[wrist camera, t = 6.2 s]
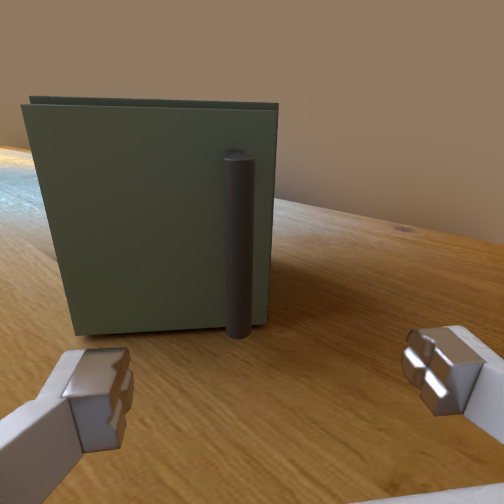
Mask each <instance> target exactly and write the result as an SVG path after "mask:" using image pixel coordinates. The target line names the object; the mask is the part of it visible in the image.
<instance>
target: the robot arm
mask: <svg viewBox="0 0 504 504" xmlns="http://www.w3.org/2000/svg"><path fill="white" fill-rule="evenodd" d="M406 341H407V343H408V344H409V347H408V348H407V349H406V350H405V351H404V352H403V354H402V359H401V365H402V371H403V373H404V375H405V378H406V379H407V380H408V382H409V383H410V384H411V385H412V386H414V387H416V388H417V389H419V390H420V398H421V399H422V401H423V402H424V403H425V405H426V406H427V407H428V409H429V410H430V411H431V413H432V414H433V415H434V416H447V415H461V414H463V416H464V417H465V418H467V419H468V420H469V421H471V422H472V423H474V424H475V425H476V426H478V427H479V428H481V429H482V430H483V431H485V432H486V433H488V434H489V435H491V436H492V437H493V438H495V439H496V440H498V441H499V442H500V443H502V444H503V445H504V360H503V359H502V358H501V357H500V356H498V355H497V354H496V353H495V352H494V351H492V350H491V349H490V348H489V347H488V346H486V345H485V344H484V343H483V342H482V341H480V340H479V339H478V338H477V337H476V336H474V335H473V334H472V333H471V332H470V331H468V330H467V329H466V328H465V327H462V326H460V325H456V326H444V327H437V328H422V329H411V331H410V332H409V333H408V336H407V339H406ZM129 362H130V355H129V350H128V349H127V348H126V347H124V348H100V349H87V350H86V349H82V350H67V351H66V352H64V353H63V354H62V356H61V357H60V359H59V361H58V362H57V364H56V366H55V368H54V369H53V371H52V373H51V374H50V376H49V378H48V379H47V381H46V383H45V384H44V386H43V388H42V389H41V391H40V393H39V395H38V396H37V398H36V400H32V401H27V402H26V403H25V404H23V405H22V406H20V407H19V408H18V409H16V410H15V411H13V412H12V413H10V414H9V415H8V416H6V417H5V418H3V419H2V420H0V504H42V503H43V502H44V501H45V500H46V498H47V497H48V496H49V495H50V494H51V493H52V491H53V490H54V489H55V488H56V487H57V486H58V484H59V483H60V482H61V481H62V480H63V479H64V478H65V476H66V475H67V474H68V473H69V472H70V471H71V469H72V468H73V467H74V466H75V465H76V464H77V462H78V461H79V460H80V459H81V458H82V457H83V454H84V453H92V452H99V451H107V450H114V449H120V448H121V444H122V440H123V436H124V432H125V429H126V425H127V424H126V418H125V414H126V413H127V412H128V411H129V410H130V409H131V404H132V400H133V391H134V379H133V372H132V371H131V370H129V369H128V366H129ZM349 504H504V482H503V483H495V484H488V485H481V486H473V487H466V488H459V489H452V490H444V491H437V492H430V493H422V494H415V495H408V496H401V497H393V498H386V499H379V500H371V501H364V502H357V503H349Z"/></svg>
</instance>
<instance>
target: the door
mask: <svg viewBox="0 0 504 504" xmlns="http://www.w3.org/2000/svg"><path fill="white" fill-rule="evenodd" d="M20 106H21V110H22V114H23V118H24V123H25V127H26V131H27V135H28V139H29V144H30V148H31V152H32V156H33V160H34V164H35V169H36V173H37V177H38V181H39V185H40V189H41V194H42V198H43V202H44V206H45V210H46V215H47V219H48V223H49V227H50V231H51V235H52V240H53V244H54V248H55V252H56V256H57V261H58V265H59V269H60V273H61V277H62V281H63V286H64V290H65V294H66V298H67V302H68V307H69V311H70V315H71V319H72V323H73V327H74V332H75V336H82V335H99V334H115V333H131V332H148V331H164V330H180V329H197V328H213V327H226V333H227V335H228V336H229V337H231V338H233V339H244V338H246V337H248V336H249V335H250V333H251V325H262V324H266V316H267V296H268V275H269V255H270V234H271V214H272V193H273V173H274V152H275V132H276V111H271V110H232V109H194V108H155V107H117V106H78V105H39V104H21V105H20Z"/></svg>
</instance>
